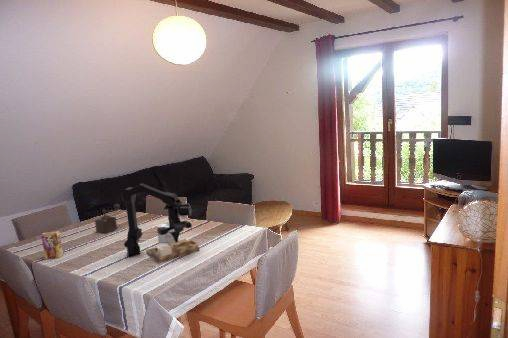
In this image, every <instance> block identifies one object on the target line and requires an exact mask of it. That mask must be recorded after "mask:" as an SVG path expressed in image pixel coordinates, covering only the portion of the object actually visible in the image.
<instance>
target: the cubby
mask: <svg viewBox="0 0 508 338" xmlns="http://www.w3.org/2000/svg"><path fill="white" fill-rule="evenodd" d="M187 240H188V241H184V242H181V243H177V244H173V248H177V247H180V246H184V245H187V244H193V245H191V246H187V247H184V248H181V249H179V251H180V253H181V252H184V251H188V250H191V249H194V248H198V247H199V244H198V243H197V242H195V241H194V240H193V239H187Z"/></svg>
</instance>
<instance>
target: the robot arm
mask: <svg viewBox="0 0 508 338" xmlns="http://www.w3.org/2000/svg"><path fill="white" fill-rule="evenodd" d="M138 193H144V194H146V195H149V196H151V197H154V198H156V199H158V200H160V201H162V203H164V204H165V206H164V207H163V210H167V215H168V216H167V220H168V224H169V227H168V228H165V227H161V228H158V230H157V229H156V230H157V231H158V233H159V234H160V235H164V234H167V233H168V232H169V233H170V234H171V235H172V237H173V238H174V240H175V242H177V241H179V236H180V233H181V232H183V231H184V229H185V228H186V229H190V228H192V227H193V225H192V222H190V221H188V220H182V221H181V217H185V216H186V217H188V216H192V212H193V209H192V206H191V203H189V202H188V203H183V202H182V201H181V200H180V199H179V198H178V197H179V196H178V195H177V193H175V192H166V191H162V190H159V189H157V188H154V187H152V186H149V185H147V184H145V183H140V184H138V185H136V186H134V187H131V186H129V187H128V188H125V189H123V191H122V192H121V197H122V201H123V203H125V207H126V215H127V222H128V223H127V224H128V232H127V240H126V241H124V243H123V245H124V247H125V248H126V256H127V257H129V258H131V257H135V256H139V255H141V248H140V245H139V242H140V239H141V238H142V236H143V232H142V231H143V230H142V228H139V226H138V220H137V219H138V218H137V212H136V204H135V203H136V198H137V194H138ZM180 216H181V217H180ZM158 233H157V234H158Z"/></svg>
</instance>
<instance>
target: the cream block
mask: <svg viewBox="0 0 508 338" xmlns="http://www.w3.org/2000/svg"><path fill="white" fill-rule="evenodd" d="M167 244H168V243H165V244H162V245H163V246H162V245H160V246H156V247H157V251H158V254H159V255H160V256H161V257H163V256H166V255H170V254H172V250H171V247H170V246H169V245H167Z"/></svg>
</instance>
